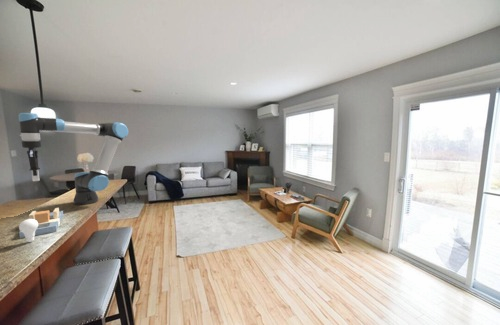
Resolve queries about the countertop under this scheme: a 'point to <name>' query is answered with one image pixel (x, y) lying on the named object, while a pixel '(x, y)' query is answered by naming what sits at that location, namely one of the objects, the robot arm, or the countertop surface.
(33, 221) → the lightbulb
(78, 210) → the countertop surface
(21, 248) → the countertop surface
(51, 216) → the tunnel deck
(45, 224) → the pad
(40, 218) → the block
